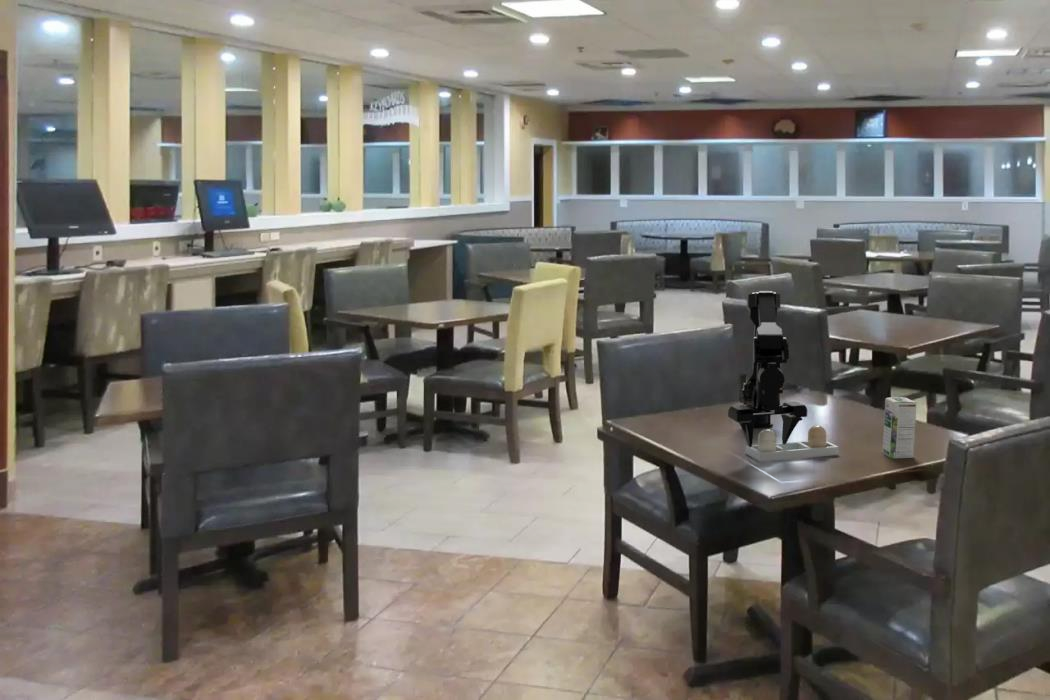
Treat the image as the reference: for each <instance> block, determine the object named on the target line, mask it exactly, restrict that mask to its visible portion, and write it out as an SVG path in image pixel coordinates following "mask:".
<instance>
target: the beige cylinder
mask: <svg viewBox="0 0 1050 700" xmlns="http://www.w3.org/2000/svg"><path fill="white" fill-rule="evenodd" d="M807 441H808V446H809V447H811V448H819V447H826V441H827V430H826V429H825V428H824V427H823V426H822V425H818V424H816V425H813V426H811V427H810V428H809V429H808V432H807Z"/></svg>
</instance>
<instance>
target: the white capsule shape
mask: <svg viewBox="0 0 1050 700" xmlns="http://www.w3.org/2000/svg"><path fill="white" fill-rule="evenodd" d="M776 443H777V434H776V433H775V431H774V430H772V429H768V428H765V429H762V430H760V432H759V433H758V436H757V445H758V451H760V452H770V451H776Z"/></svg>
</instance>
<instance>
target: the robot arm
mask: <svg viewBox="0 0 1050 700" xmlns="http://www.w3.org/2000/svg"><path fill="white" fill-rule="evenodd" d="M781 303H782V302H781V294H779V293H776V291H773V290H758V291H755V292H751V293H749V294H747V296H746V310H747V311H749V319H750V320H751V322H752V324H753V326H754V329H753V340H752V341H753V342H752V350H753V351H752V366H751V367H752V368H751V369H750V370H749V371H748V372H747V374H746V375H745V377H746V379H745V382H743V387H742V389H740V390H739V392H738V400H739V401H738V402H739V403H740V404H742V405H731V406H730V407H729V408H728V411H727V412H728V413H727V416H728V418H730V419H731V420H733V421H734V422H736V423H738V424H739V426H740V428H741V430H742V432H743V435H744V437H745V441H746V444H747V446H749V447H752V445H753V439H754V438H753V437H754V429H756V428H766V427H767V428H768V427H774V424H773V423H771V416H774V415H780V416H781V419H782V430H781V431H782V434H781V441H782V442H781V443H783V444H784V445H785V444H786V443H787V442H789V438H790V437H791V435H792V433H793V431H794V429H795V428H796V427H797V425H798V423H799V422H801V421H803V418H806V417H808V408H807V406H806V405H805V404H803V403H801V402H798V401H786V402H785V401H784V402H783V403H782V404H781V394H784V393H783V392H784V389H783V387H784V385H785V376H784V373H783V371H782V365H781V364H787V362H788V360H789V358H790V350H789V342H788V340H787V338H786V337H784V332H783V329H782V327H780V326H778V322H777V319H778V318H777V317H778V315H777V314H778V311H780V310H781Z"/></svg>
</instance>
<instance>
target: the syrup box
mask: <svg viewBox="0 0 1050 700" xmlns="http://www.w3.org/2000/svg"><path fill="white" fill-rule="evenodd" d="M884 402H885V406H884V421H883V438H882V439H883V440H882V453H883V454H884V455H886V457H888V458H890V459H904V458H905V459H906V458H907V459H908V458H910V459H911V458H914V454H915V453H914V449H915V434H916V420H917V419H916V418H917V403H918V402H917V401H914V400H912V399H910V398H908V397H902V396H891V397H886V398H885V401H884Z"/></svg>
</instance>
